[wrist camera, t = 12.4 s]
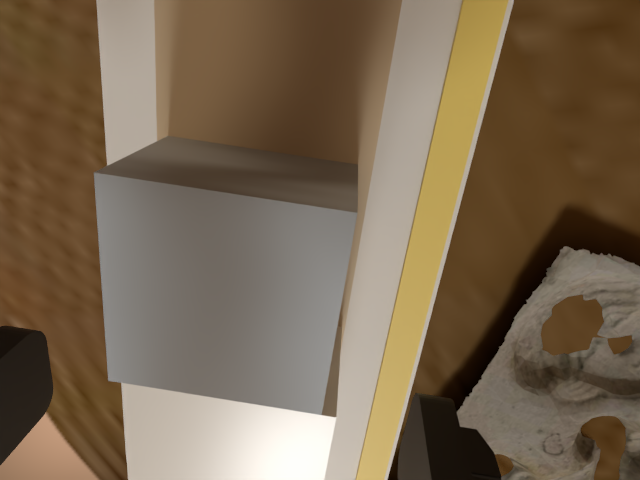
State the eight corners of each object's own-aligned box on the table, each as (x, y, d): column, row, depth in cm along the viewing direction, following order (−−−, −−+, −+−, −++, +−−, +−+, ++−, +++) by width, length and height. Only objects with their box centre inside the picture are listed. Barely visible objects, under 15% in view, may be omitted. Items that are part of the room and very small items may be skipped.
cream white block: (341, 327, 12) (336, 417, 9) (320, 447, 14) (309, 554, 11) (179, 301, 12) (123, 383, 9) (178, 423, 14) (130, 524, 11)
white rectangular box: (490, -89, 17) (556, -154, 11) (377, 406, 27) (382, 505, 21) (171, -130, 17) (78, -214, 12) (174, 374, 27) (124, 464, 21)
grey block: (358, 164, 10) (357, 213, 8) (330, 325, 12) (321, 415, 9) (168, 136, 11) (94, 172, 8) (168, 299, 12) (108, 380, 9)
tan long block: (396, -34, 13) (414, -69, 9) (317, 441, 20) (306, 545, 16) (218, -57, 13) (152, -104, 9) (204, 423, 20) (164, 522, 16)
